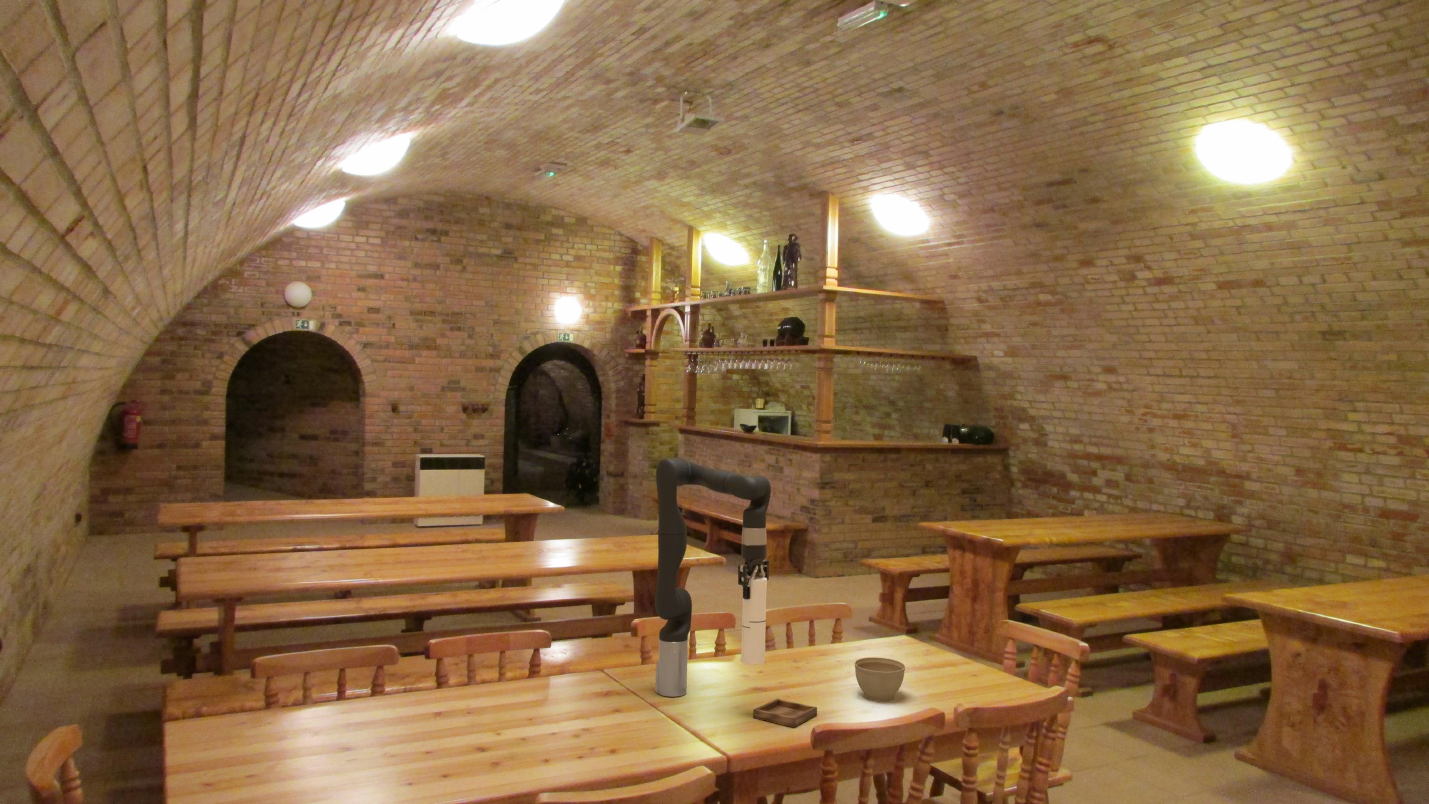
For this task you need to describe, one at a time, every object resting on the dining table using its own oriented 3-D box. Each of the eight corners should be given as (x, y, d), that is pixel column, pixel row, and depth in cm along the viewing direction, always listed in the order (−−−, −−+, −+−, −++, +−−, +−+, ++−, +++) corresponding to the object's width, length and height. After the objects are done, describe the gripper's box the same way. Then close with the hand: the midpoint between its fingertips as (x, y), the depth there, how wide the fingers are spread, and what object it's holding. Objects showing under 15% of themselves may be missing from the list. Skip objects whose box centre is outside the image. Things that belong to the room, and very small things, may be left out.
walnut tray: (753, 717, 288) (753, 709, 288) (776, 706, 300) (777, 698, 300) (794, 727, 280) (794, 718, 280) (817, 715, 292) (817, 707, 292)
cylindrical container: (763, 665, 287) (765, 581, 288) (739, 663, 289) (741, 579, 289) (765, 659, 294) (768, 577, 295) (742, 657, 296) (745, 575, 296)
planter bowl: (848, 701, 307) (849, 667, 307) (860, 687, 322) (861, 654, 322) (898, 708, 301) (899, 673, 301) (908, 694, 316) (909, 661, 316)
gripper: (756, 539, 300) (755, 592, 300) (730, 543, 288) (729, 599, 288) (777, 541, 296) (776, 595, 296) (751, 545, 284) (751, 602, 284)
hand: (753, 597), depth 292 cm, fingers closed on cylindrical container, 7 cm apart
